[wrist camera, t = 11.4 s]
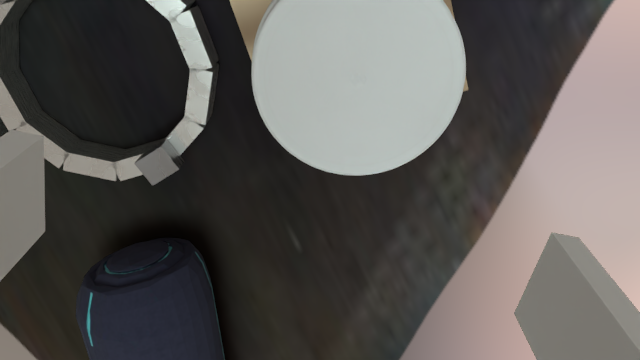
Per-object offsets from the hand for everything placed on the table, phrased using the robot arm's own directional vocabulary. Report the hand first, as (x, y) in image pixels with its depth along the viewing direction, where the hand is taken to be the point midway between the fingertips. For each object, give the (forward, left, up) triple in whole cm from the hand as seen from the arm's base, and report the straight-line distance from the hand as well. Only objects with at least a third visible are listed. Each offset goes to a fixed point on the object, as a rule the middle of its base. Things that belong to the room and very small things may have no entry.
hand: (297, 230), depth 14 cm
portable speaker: (+22, -20, -26) cm, 39 cm away
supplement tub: (-1, +2, -25) cm, 25 cm away
